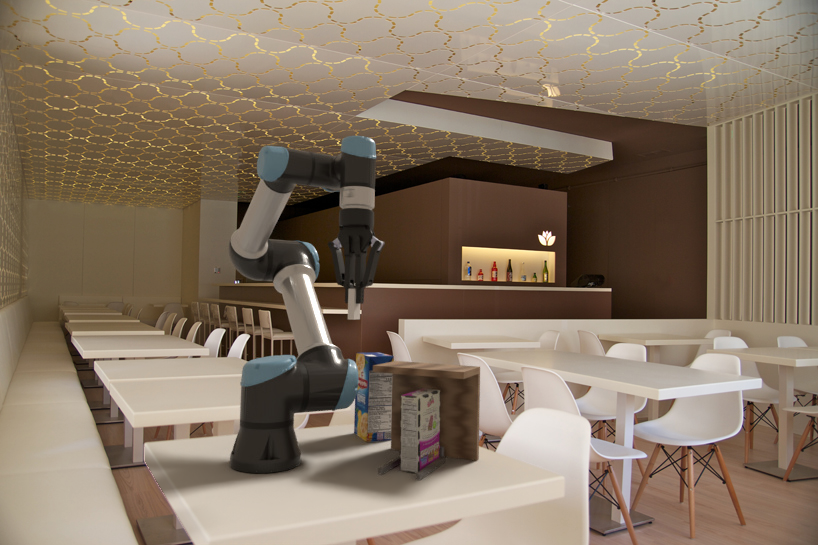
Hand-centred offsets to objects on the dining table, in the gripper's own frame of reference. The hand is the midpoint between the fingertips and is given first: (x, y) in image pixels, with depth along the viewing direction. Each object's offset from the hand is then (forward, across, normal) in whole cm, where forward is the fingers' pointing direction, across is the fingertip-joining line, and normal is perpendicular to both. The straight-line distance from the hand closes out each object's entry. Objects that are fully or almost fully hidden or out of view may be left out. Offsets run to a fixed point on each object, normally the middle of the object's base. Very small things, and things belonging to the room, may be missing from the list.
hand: (353, 319), depth 121 cm
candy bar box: (+33, +11, +12) cm, 36 cm away
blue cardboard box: (+33, -11, +32) cm, 47 cm away
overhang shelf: (+32, +10, +14) cm, 36 cm away
